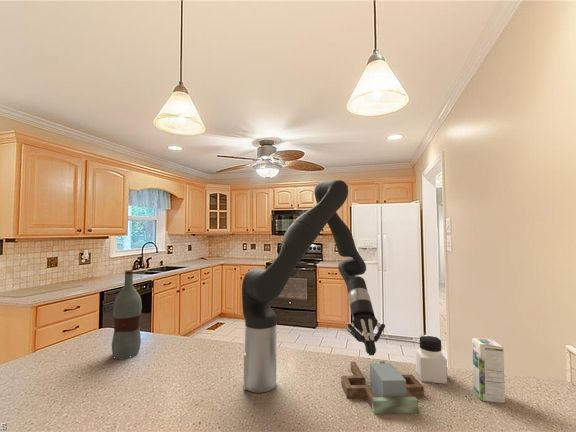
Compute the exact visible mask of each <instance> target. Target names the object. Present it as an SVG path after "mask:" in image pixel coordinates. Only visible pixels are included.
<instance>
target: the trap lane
mask: <svg viewBox="0 0 576 432" xmlns="http://www.w3.org/2000/svg"><path fill="white" fill-rule="evenodd" d="M379 363H386V362H385V361H379ZM350 371H351V374H353V375H340V377H341V379H340V385H341V387H342V389H343V392H344V394H345V396H346V398H347V399H359V398H360V399H361V398H365V399H366V401H367V402H368V405H369V407H370V409H371V410H372V413H373V414H374V415H375V414H418V413H419V400H418V398H417V397H419V398H420V397H421V398H422V397H425V387H424V385H423V384H421V382H420V381H419V380H418V379H417V378H416V377H415V376H414V375H413V374H401V375H402V376H403V377H404V379H405V380H406V397H376V396H375V394H374V392H373V391H372V389H371V387H370V385H369V384H366V383H365V382H366V377H365V375H364V373H363V372H362V371H361V369H360V368H359V366H358V364H357V363H356V361H350Z"/></svg>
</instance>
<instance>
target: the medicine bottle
mask: <svg viewBox="0 0 576 432" xmlns="http://www.w3.org/2000/svg"><path fill="white" fill-rule="evenodd" d="M447 361H448V360H447V358H446V356H444V354H443V353H442V340H441V339H440V338H438V337H436V336H434V335H429V334H426V335H421V336H419V348H415V368H416V369H415V370H416V373H417V375H418V376H419V379H420V380H421V382H424V383H436V384H445V385H446V384H448V365H447V364H448V363H447Z"/></svg>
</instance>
